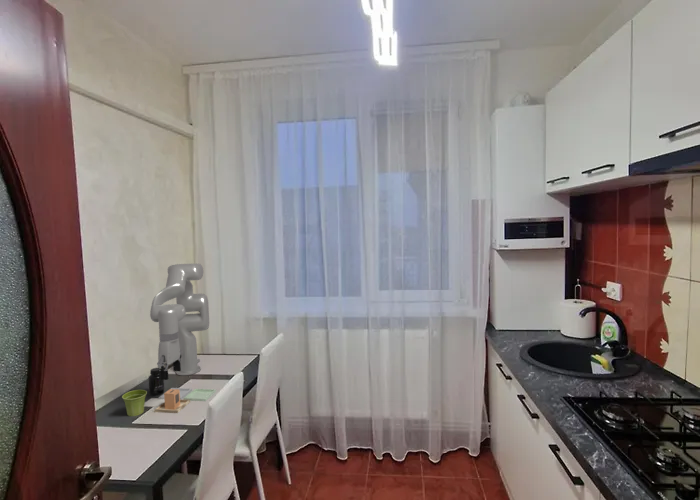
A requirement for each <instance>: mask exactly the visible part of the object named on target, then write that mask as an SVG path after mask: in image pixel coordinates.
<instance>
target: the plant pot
mask: <svg viewBox="0 0 700 500" xmlns="http://www.w3.org/2000/svg"><path fill="white" fill-rule="evenodd" d="M147 395H148V391H147V390H145V389H134V390H131V391H128V392H125V393H124V394H122V396H121V398H122V400H123V402H124V405H125V410H126V414H127V416H129V417H136V416H139V415H142V414H143V413H144V412H145V406H144V403H145V402H146V397H147Z"/></svg>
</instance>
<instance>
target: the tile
mask: <svg viewBox="0 0 700 500" xmlns="http://www.w3.org/2000/svg"><path fill="white" fill-rule="evenodd" d="M164 402H165V400H164V399H159V397H158V398H155V397H151V398H149V399H148V400H147V401H145V403H144V408H146V407H149V408H151V407H152V408H157V407H158V406H160V405H161V404H162V403H164Z"/></svg>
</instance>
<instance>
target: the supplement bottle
mask: <svg viewBox="0 0 700 500" xmlns="http://www.w3.org/2000/svg"><path fill="white" fill-rule="evenodd" d="M149 372H150V375H148V379H147V380H148V381H147V382H148V395H149V396H151V397H156V396H158V397H159V396H161V395H163V394H164V393H165V392H166V391H165V380H161V374H160V371H159V368H158V367H154V368H151V369H150V371H149Z"/></svg>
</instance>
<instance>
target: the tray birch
mask: <svg viewBox="0 0 700 500" xmlns="http://www.w3.org/2000/svg"><path fill="white" fill-rule="evenodd" d="M190 403H191V401H190V400H183V399H182V400H180V406H178V407H177V408H176V409H175V410H174V409H165V401H164V402H163V403H162V404H160V405H159V406H158V407H155V408H154V410H153V412H154V413H160V414H161V413H163V414H178V413H179V412H181V411H182V410H183V409H184V408H186V407H187V405H189V404H190Z"/></svg>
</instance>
